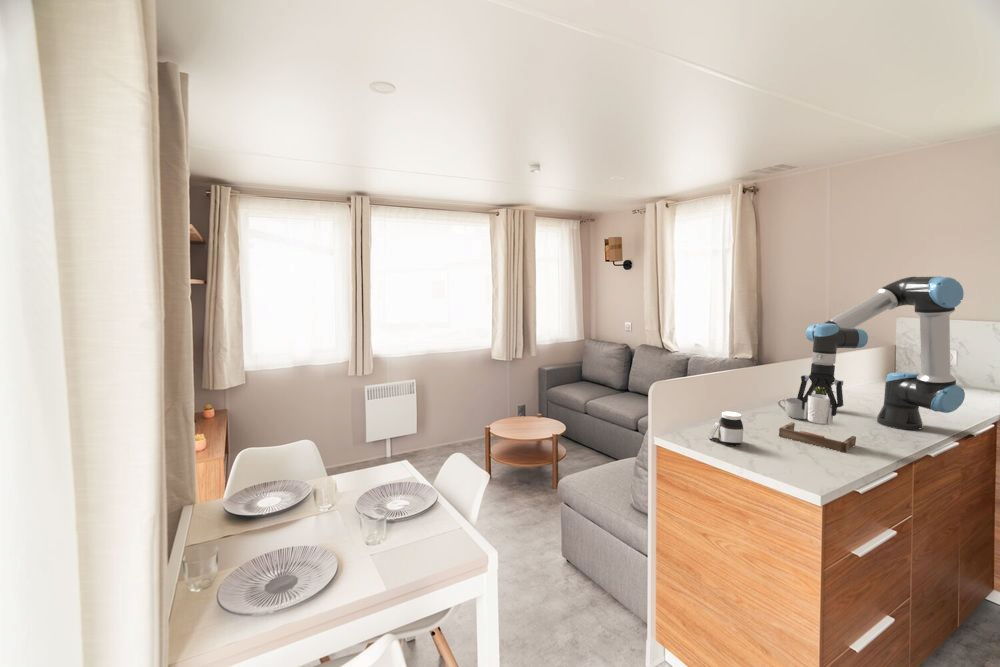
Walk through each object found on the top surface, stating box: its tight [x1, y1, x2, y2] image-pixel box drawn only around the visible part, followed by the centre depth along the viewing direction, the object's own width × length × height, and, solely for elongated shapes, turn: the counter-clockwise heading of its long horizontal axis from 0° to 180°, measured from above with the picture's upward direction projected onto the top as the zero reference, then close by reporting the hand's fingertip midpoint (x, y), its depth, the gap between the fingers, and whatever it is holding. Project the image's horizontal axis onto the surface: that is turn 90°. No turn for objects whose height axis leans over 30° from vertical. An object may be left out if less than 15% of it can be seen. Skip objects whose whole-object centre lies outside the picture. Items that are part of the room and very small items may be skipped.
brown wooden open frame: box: [778, 421, 857, 454], centre depth 185 cm, size 12×22×4 cm, turn 38°
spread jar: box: [707, 410, 744, 447], centre depth 183 cm, size 12×11×12 cm
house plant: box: [809, 380, 837, 396], centre depth 227 cm, size 14×14×16 cm
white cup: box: [807, 393, 831, 425], centre depth 184 cm, size 8×8×10 cm
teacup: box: [777, 397, 808, 420], centre depth 216 cm, size 14×11×8 cm
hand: (817, 420), depth 184 cm, fingers closed on white cup, 8 cm apart
